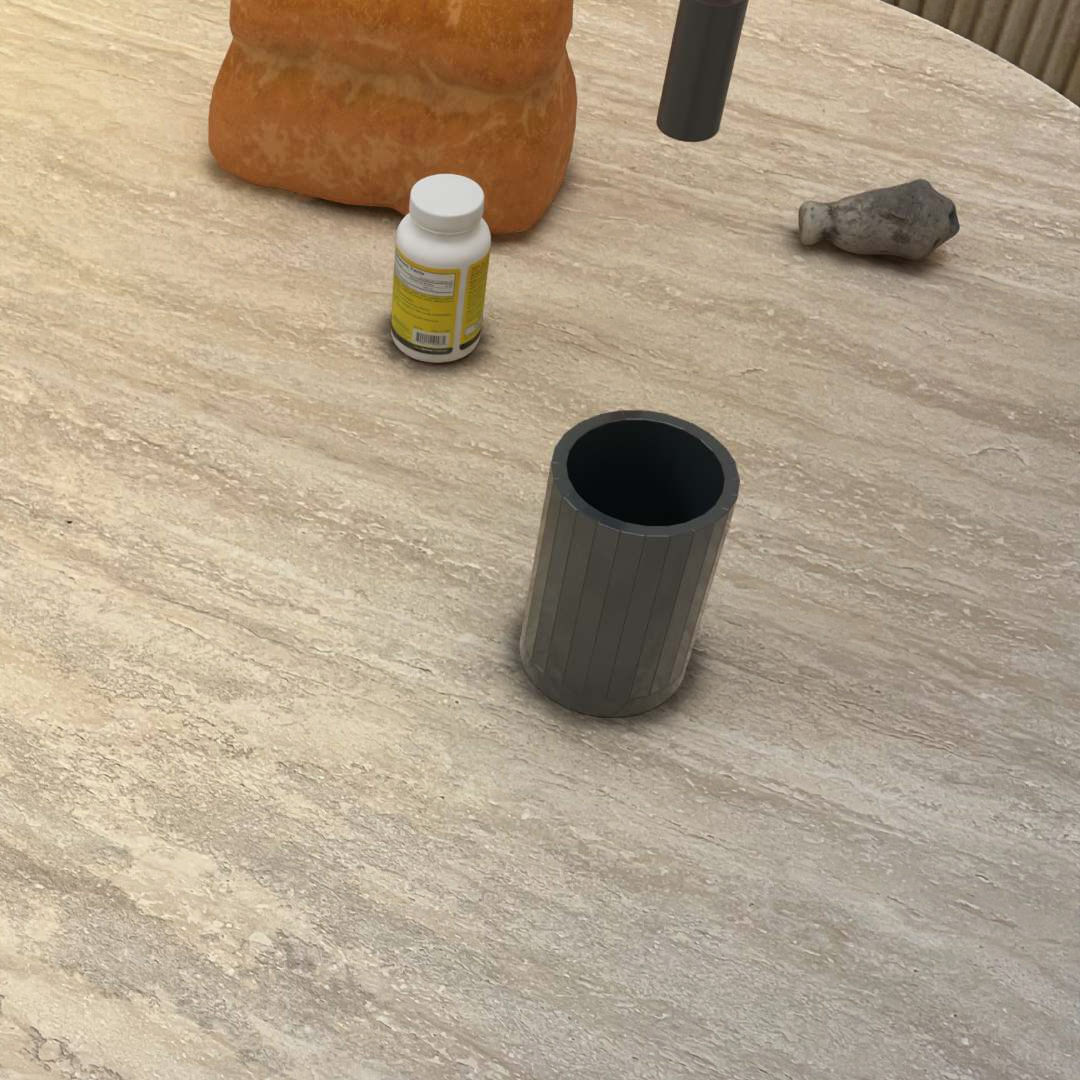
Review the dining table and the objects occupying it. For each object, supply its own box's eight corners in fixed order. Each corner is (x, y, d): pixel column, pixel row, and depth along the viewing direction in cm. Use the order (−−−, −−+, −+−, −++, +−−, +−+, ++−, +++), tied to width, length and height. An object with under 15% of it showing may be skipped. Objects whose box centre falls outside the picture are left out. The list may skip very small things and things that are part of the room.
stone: (780, 259, 123) (852, 242, 115) (788, 181, 122) (861, 158, 115) (893, 274, 126) (969, 259, 119) (901, 198, 125) (978, 178, 118)
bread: (531, 257, 121) (565, 24, 108) (192, 182, 127) (183, -50, 113) (585, 142, 130) (622, -87, 116) (266, 76, 136) (266, -150, 122)
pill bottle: (455, 301, 118) (470, 157, 109) (495, 353, 115) (514, 209, 106) (374, 322, 117) (383, 178, 108) (412, 375, 113) (424, 231, 104)
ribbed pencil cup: (672, 594, 101) (723, 409, 90) (697, 717, 95) (754, 536, 84) (512, 594, 101) (542, 409, 90) (527, 717, 95) (562, 536, 84)
